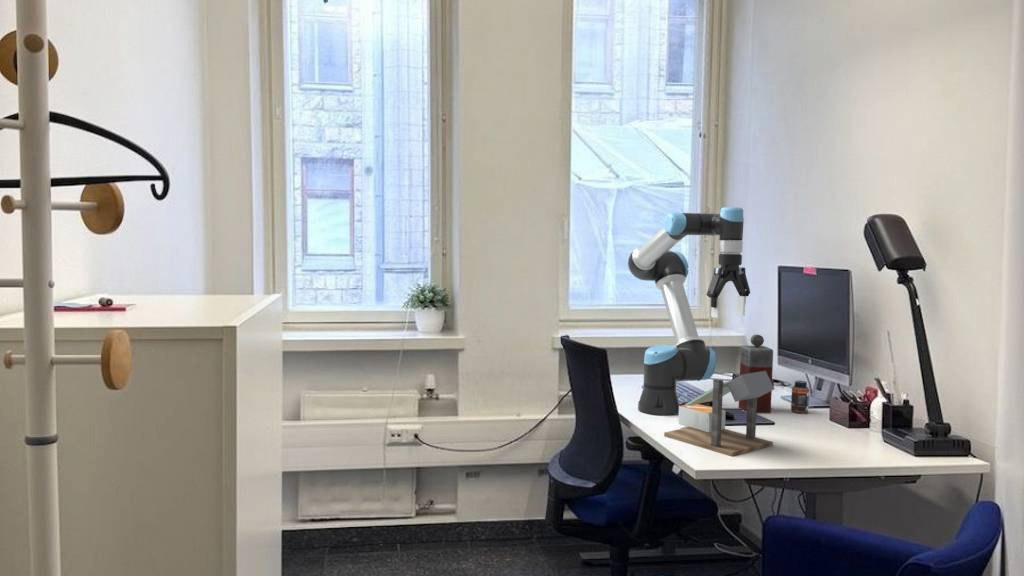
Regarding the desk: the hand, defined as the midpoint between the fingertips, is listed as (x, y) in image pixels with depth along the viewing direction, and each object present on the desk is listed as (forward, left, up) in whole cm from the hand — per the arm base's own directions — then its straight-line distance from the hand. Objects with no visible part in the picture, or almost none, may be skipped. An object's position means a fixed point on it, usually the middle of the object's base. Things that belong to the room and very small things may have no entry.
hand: (728, 316), depth 258 cm
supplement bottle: (-37, +5, -37) cm, 52 cm away
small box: (+14, +9, -32) cm, 36 cm away
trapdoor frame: (+20, +13, -37) cm, 44 cm away
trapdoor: (+20, +19, -25) cm, 37 cm away
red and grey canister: (-26, -7, -37) cm, 46 cm away
